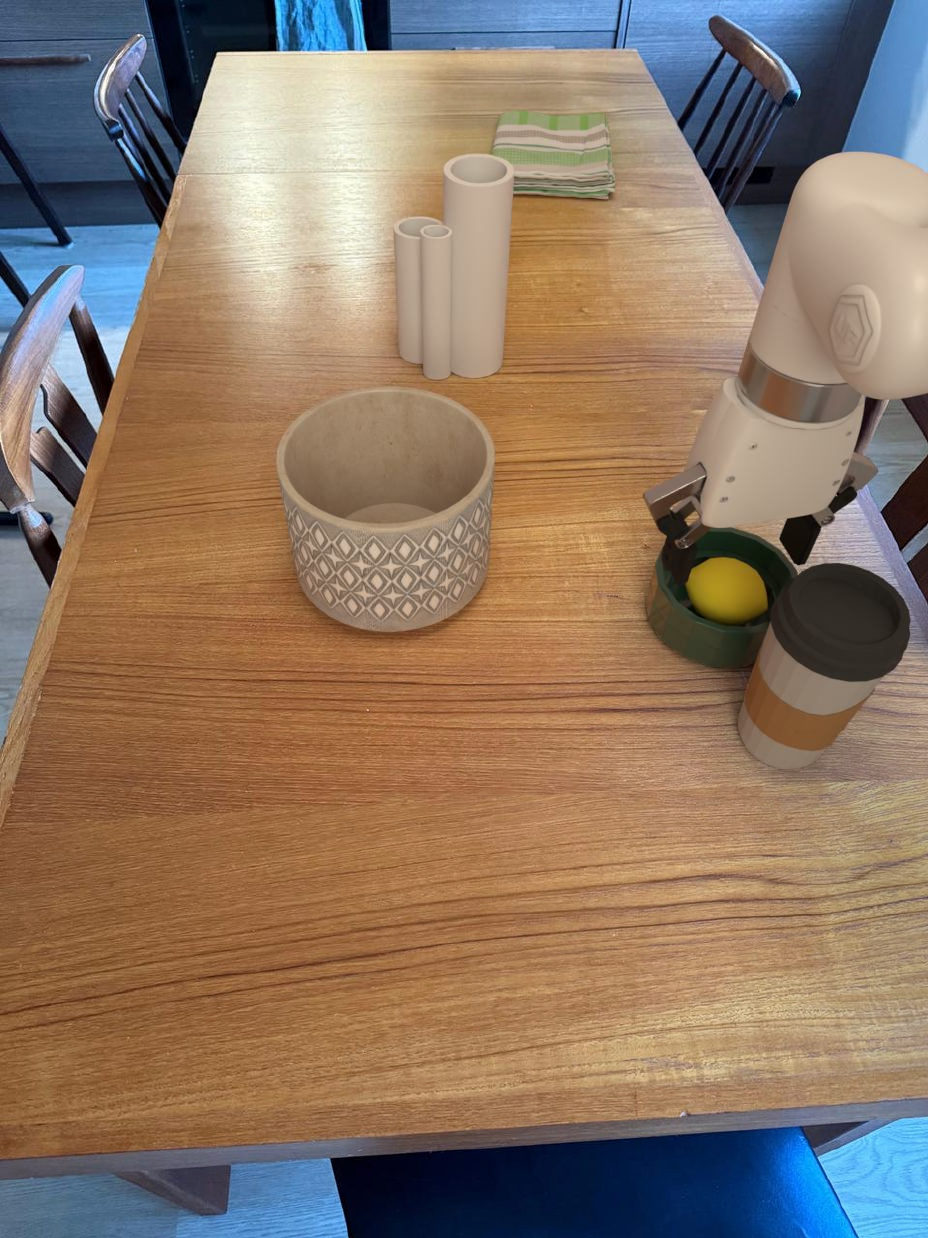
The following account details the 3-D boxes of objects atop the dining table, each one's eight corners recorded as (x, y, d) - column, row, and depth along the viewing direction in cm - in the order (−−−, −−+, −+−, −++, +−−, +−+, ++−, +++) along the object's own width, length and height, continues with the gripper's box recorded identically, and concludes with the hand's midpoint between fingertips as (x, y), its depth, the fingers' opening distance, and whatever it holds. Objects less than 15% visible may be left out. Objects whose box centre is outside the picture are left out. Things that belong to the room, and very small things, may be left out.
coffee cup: (768, 671, 71) (832, 537, 59) (858, 741, 67) (946, 613, 55) (699, 728, 67) (752, 598, 55) (790, 806, 63) (868, 683, 52)
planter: (519, 537, 79) (530, 422, 70) (433, 670, 70) (432, 559, 60) (359, 479, 84) (348, 364, 74) (258, 598, 74) (230, 483, 65)
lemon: (769, 609, 74) (788, 565, 70) (745, 653, 71) (764, 609, 67) (690, 575, 76) (704, 530, 72) (664, 616, 73) (677, 572, 69)
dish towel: (486, 195, 120) (487, 168, 117) (494, 123, 135) (495, 98, 132) (614, 202, 119) (618, 175, 117) (609, 129, 134) (612, 104, 131)
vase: (502, 342, 99) (513, 153, 83) (503, 381, 94) (515, 190, 78) (400, 339, 98) (392, 150, 83) (395, 378, 94) (386, 186, 78)
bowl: (809, 620, 74) (829, 580, 70) (727, 696, 69) (744, 657, 65) (700, 548, 79) (713, 506, 75) (617, 613, 74) (627, 572, 70)
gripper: (896, 324, 59) (813, 512, 73) (650, 355, 57) (610, 544, 70) (960, 392, 55) (859, 580, 68) (695, 429, 52) (644, 616, 65)
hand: (733, 561), depth 69 cm, fingers open, 9 cm apart
